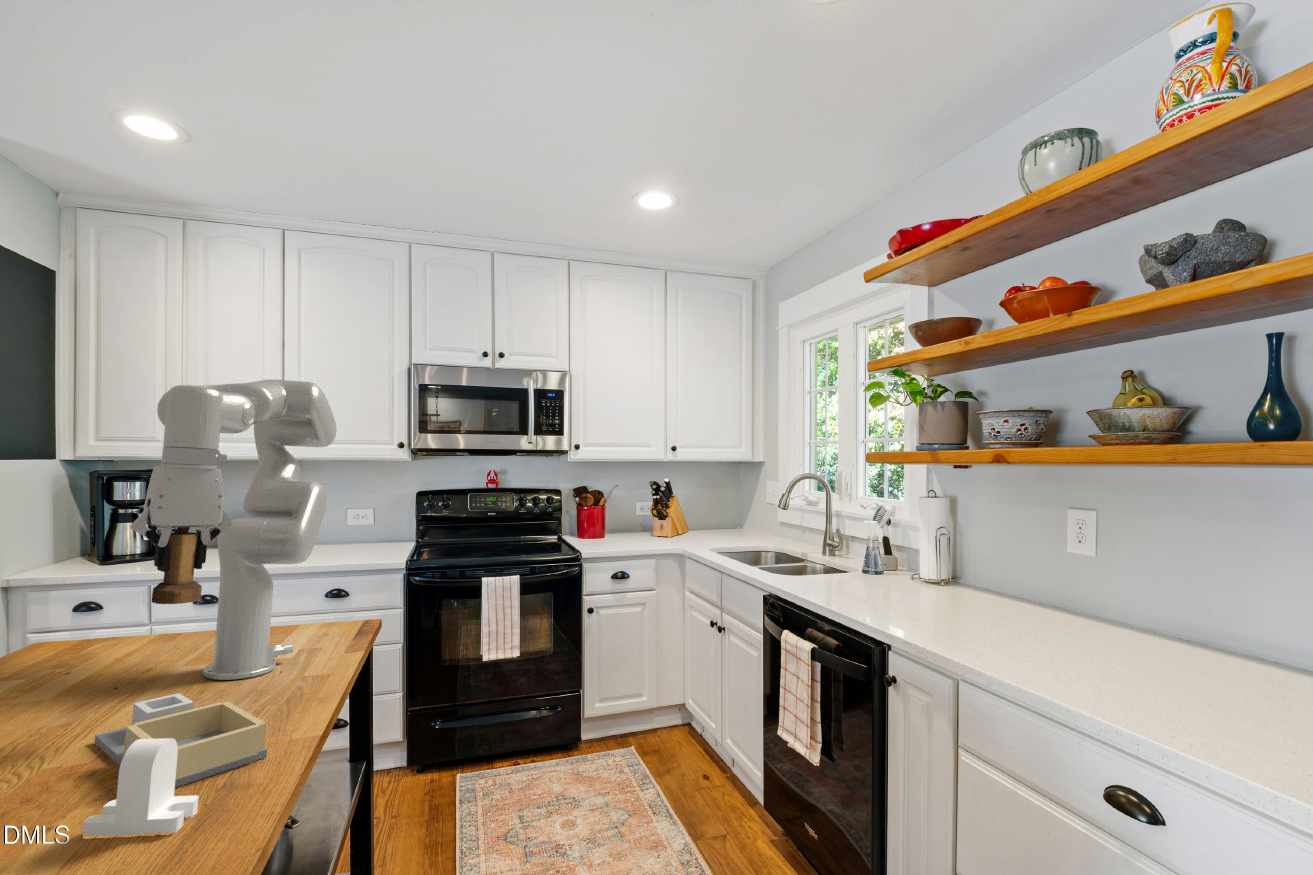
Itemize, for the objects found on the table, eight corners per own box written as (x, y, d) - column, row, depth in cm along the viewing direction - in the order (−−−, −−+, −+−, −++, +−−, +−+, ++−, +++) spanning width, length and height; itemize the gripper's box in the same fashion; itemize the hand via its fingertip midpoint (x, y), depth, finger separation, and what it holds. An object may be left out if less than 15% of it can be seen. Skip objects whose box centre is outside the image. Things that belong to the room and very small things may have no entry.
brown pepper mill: (210, 599, 105) (219, 492, 106) (169, 606, 99) (178, 492, 100) (183, 595, 108) (192, 490, 109) (141, 602, 102) (151, 491, 103)
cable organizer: (174, 835, 74) (182, 748, 74) (79, 840, 72) (87, 751, 72) (199, 811, 79) (206, 730, 79) (110, 814, 77) (118, 732, 78)
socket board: (201, 715, 107) (203, 684, 107) (268, 758, 93) (271, 722, 93) (94, 742, 95) (97, 708, 96) (152, 796, 82) (156, 755, 82)
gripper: (236, 461, 114) (227, 563, 113) (119, 456, 101) (107, 571, 99) (254, 462, 110) (245, 567, 108) (134, 456, 96) (122, 577, 95)
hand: (179, 568), depth 104 cm, fingers closed on brown pepper mill, 4 cm apart
